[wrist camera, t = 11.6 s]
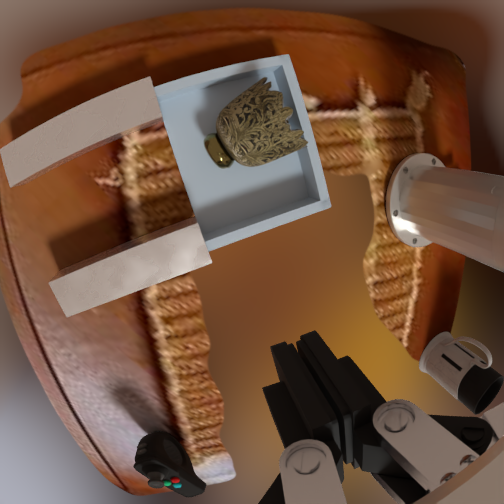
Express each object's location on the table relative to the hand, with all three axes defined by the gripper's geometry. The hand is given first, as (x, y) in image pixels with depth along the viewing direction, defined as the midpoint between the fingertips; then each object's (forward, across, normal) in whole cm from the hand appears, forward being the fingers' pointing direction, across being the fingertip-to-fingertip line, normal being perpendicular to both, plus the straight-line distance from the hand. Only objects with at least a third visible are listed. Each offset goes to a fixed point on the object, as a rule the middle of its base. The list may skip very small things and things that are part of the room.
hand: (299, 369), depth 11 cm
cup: (+21, -1, -7) cm, 22 cm away
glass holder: (+24, -30, +30) cm, 49 cm away
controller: (+22, +17, +28) cm, 39 cm away
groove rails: (+22, +10, -7) cm, 26 cm away
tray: (+23, -4, -7) cm, 24 cm away
